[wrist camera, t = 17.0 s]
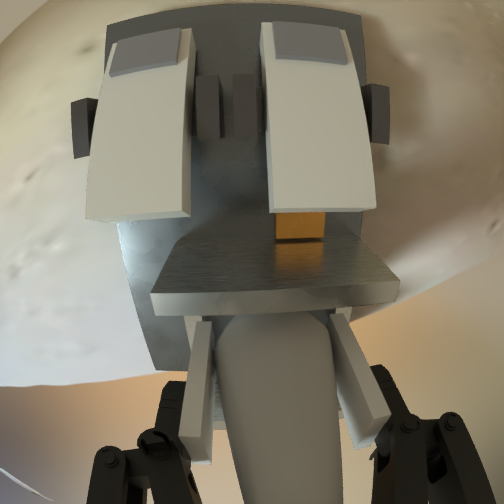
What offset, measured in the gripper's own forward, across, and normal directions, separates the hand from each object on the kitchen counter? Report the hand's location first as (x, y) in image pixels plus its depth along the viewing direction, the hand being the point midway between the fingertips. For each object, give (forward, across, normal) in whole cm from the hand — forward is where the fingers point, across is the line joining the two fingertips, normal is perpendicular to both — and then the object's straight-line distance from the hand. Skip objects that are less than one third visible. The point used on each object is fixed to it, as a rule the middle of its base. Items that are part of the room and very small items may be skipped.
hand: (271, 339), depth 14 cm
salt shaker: (+1, 0, 0) cm, 1 cm away
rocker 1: (0, -5, +11) cm, 12 cm away
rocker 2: (0, +2, +11) cm, 11 cm away
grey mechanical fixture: (+5, -1, +6) cm, 8 cm away
